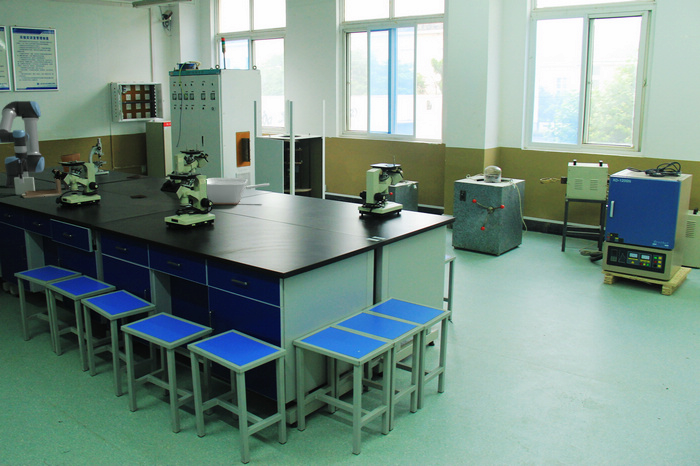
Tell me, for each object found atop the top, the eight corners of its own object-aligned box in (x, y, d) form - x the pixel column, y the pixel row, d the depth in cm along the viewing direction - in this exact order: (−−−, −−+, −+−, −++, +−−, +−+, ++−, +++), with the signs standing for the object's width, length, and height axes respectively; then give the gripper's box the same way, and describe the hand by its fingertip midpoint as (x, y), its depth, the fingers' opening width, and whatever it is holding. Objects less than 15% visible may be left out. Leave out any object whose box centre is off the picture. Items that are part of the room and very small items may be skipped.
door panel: (17, 194, 431) (15, 177, 428) (35, 193, 434) (33, 177, 431) (16, 194, 428) (14, 178, 425) (34, 194, 431) (32, 177, 428)
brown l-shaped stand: (22, 195, 426) (19, 171, 422) (58, 192, 439) (56, 169, 435) (24, 198, 416) (21, 173, 412) (62, 195, 430) (59, 171, 426)
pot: (209, 198, 426) (208, 177, 422) (271, 199, 428) (271, 178, 424) (200, 206, 398) (199, 184, 395) (267, 207, 400) (267, 184, 396)
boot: (94, 185, 473) (91, 151, 467) (99, 186, 467) (96, 152, 460) (61, 188, 456) (57, 153, 450) (65, 190, 450) (61, 154, 443)
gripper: (19, 150, 435) (22, 179, 439) (10, 153, 411) (13, 184, 416) (30, 150, 437) (34, 179, 441) (22, 153, 413) (25, 184, 418)
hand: (24, 182), depth 429 cm, fingers open, 13 cm apart
